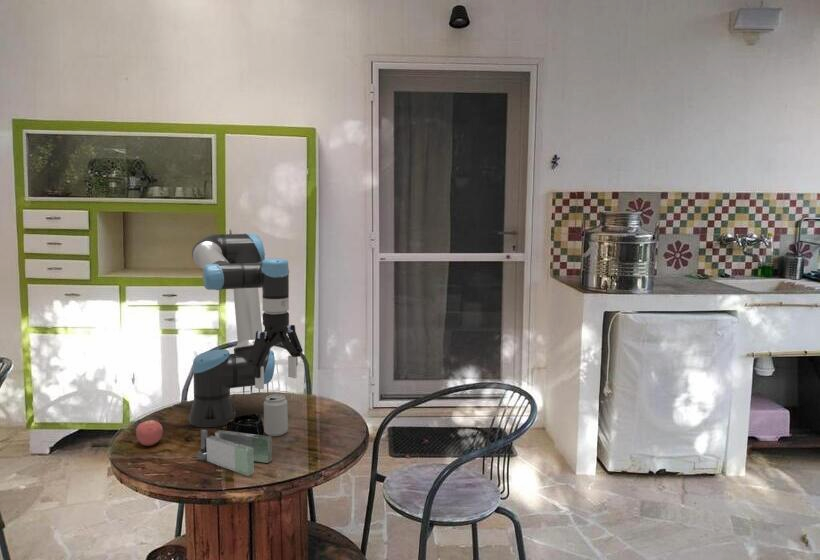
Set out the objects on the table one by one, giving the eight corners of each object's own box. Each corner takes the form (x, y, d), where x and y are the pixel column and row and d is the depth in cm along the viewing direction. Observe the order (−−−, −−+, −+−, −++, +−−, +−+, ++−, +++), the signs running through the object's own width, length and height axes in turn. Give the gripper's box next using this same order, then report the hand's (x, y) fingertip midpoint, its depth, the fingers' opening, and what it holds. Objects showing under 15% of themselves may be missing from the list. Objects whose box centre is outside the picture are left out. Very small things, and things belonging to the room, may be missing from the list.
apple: (151, 438, 192) (150, 413, 191) (168, 442, 189) (167, 417, 188) (130, 446, 185) (129, 420, 185) (148, 451, 182) (147, 424, 181)
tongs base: (194, 458, 177) (193, 430, 176) (206, 454, 180) (205, 426, 179) (244, 477, 165) (244, 447, 164) (256, 472, 169) (255, 442, 168)
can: (262, 430, 200) (261, 394, 199) (285, 427, 203) (284, 392, 201) (266, 438, 193) (265, 401, 192) (290, 435, 196) (289, 399, 195)
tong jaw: (215, 455, 179) (214, 432, 178) (219, 452, 181) (218, 429, 180) (267, 462, 174) (267, 439, 173) (271, 459, 176) (271, 436, 176)
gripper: (253, 319, 167) (254, 395, 169) (314, 307, 188) (314, 375, 190) (233, 316, 170) (235, 391, 173) (295, 304, 192) (296, 371, 194)
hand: (276, 382), depth 182 cm, fingers open, 13 cm apart
